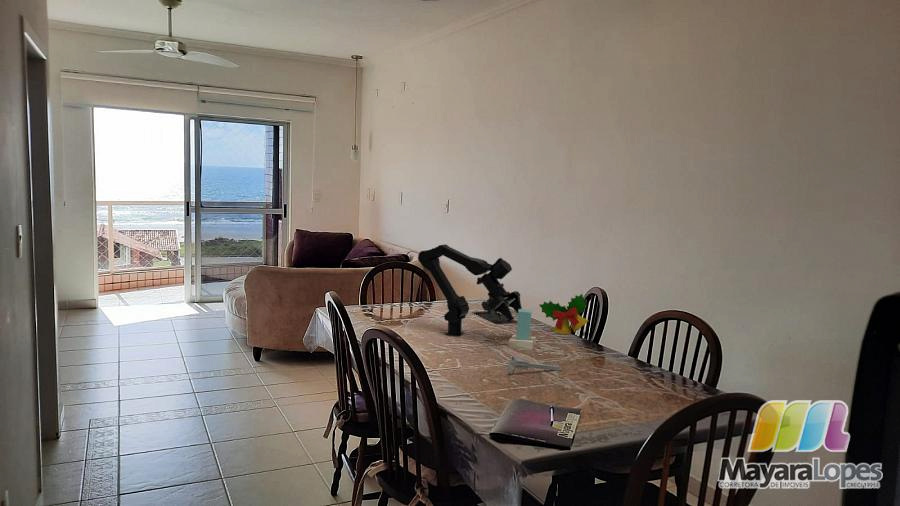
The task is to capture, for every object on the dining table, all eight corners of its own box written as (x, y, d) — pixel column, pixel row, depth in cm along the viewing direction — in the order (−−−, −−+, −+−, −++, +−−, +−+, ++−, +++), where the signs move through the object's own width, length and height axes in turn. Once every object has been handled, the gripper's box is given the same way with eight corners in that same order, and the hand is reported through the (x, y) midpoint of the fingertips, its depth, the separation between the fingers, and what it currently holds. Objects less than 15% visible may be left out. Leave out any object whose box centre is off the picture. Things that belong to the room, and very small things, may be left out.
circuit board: (471, 314, 306) (471, 307, 306) (497, 312, 312) (497, 306, 312) (496, 325, 283) (496, 318, 283) (523, 323, 289) (524, 316, 289)
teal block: (516, 336, 250) (518, 308, 248) (529, 337, 249) (531, 310, 248) (516, 339, 245) (518, 311, 243) (529, 340, 244) (531, 312, 243)
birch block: (513, 343, 253) (513, 334, 253) (535, 345, 250) (535, 336, 250) (508, 348, 244) (509, 340, 244) (531, 351, 242) (532, 342, 242)
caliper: (509, 375, 210) (509, 357, 209) (507, 374, 211) (508, 356, 210) (563, 370, 217) (564, 352, 217) (561, 369, 218) (562, 351, 218)
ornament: (545, 342, 274) (532, 310, 270) (549, 332, 281) (537, 302, 278) (592, 333, 264) (580, 300, 260) (596, 324, 271) (584, 291, 267)
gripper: (491, 295, 263) (513, 325, 259) (469, 301, 247) (492, 334, 243) (509, 279, 258) (532, 309, 254) (487, 284, 242) (512, 317, 238)
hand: (517, 317), depth 247 cm, fingers open, 9 cm apart
